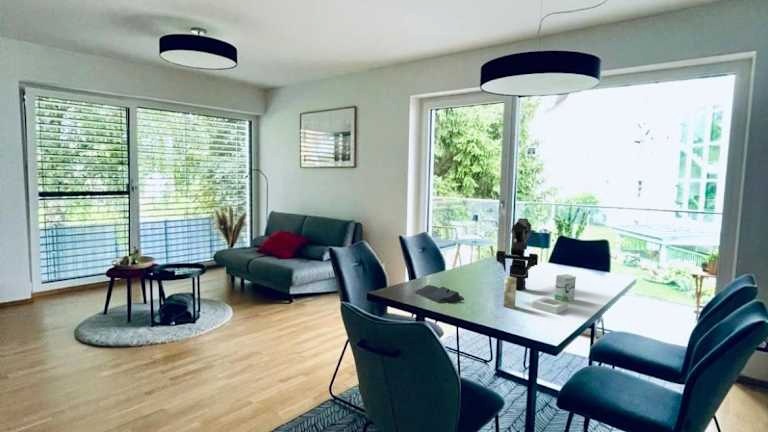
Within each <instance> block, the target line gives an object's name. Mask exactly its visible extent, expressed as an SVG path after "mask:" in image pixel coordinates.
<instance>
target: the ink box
mask: <svg viewBox="0 0 768 432" xmlns="http://www.w3.org/2000/svg"><path fill="white" fill-rule="evenodd" d="M555 276H556V279H555V290H554V299H555V300H559V301H563V302H571V301H575V291H576V282H577V281H576V279H577V276H575V275H570V274H557V275H555Z"/></svg>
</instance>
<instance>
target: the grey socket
mask: <svg viewBox="0 0 768 432" xmlns="http://www.w3.org/2000/svg"><path fill="white" fill-rule="evenodd" d="M532 309H536V310H540V311H544V312H547V313H551V314H554V315H558V314H560V313H562V312H565V311H567V310H569V302H568V301H566V302H563V301H559V300H555V298H550V297H546V296H545V297H542V298H538V299H534V300H533V301H532Z"/></svg>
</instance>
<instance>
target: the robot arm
mask: <svg viewBox="0 0 768 432" xmlns="http://www.w3.org/2000/svg"><path fill="white" fill-rule="evenodd" d="M510 232H511V235H512V243H511V247H510V253H509V254H508V253H506V250H497V251H496V255H495V256H496V257H495V258H496V262H497V263H499V264H501V266H502V268H503V272H504V273H505V272H506V270H507V268H506V267H507V266H506V259H507V260H508V259H509V260H512V261H511V265H510V266H509V277H515V278H517V281H516V291H523V290H526V289H527V287H526V286H527V285H526V281H527V280H526V279H528V278H529V270H531V268H532V267H535V266H538V264H539V263H538V262H539V255H538V253H529V254H528V256H526V255H525V251H526V250H528V242H527V240H528V239H530V235H531V234H532V224H531V223H530V221H529V219H527V218H517V222H516V223H514V224H513V226H512V227H511V230H510Z"/></svg>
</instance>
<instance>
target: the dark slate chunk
mask: <svg viewBox="0 0 768 432" xmlns="http://www.w3.org/2000/svg"><path fill="white" fill-rule="evenodd" d="M414 294H416V295H419V296H420V297H423V298H425V299H428V300H430V301H432V302H435V303H437V304H448V303H456V302H459V301H462V300H464V297H463V296H461V295H460V293H459V291H455V290H451V289H450V288H447V287H445V286H440V287H437V286H435V285H431V284H428V285H425V286H423V287H421V288H419V289H417V290H416V291H414Z"/></svg>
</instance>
